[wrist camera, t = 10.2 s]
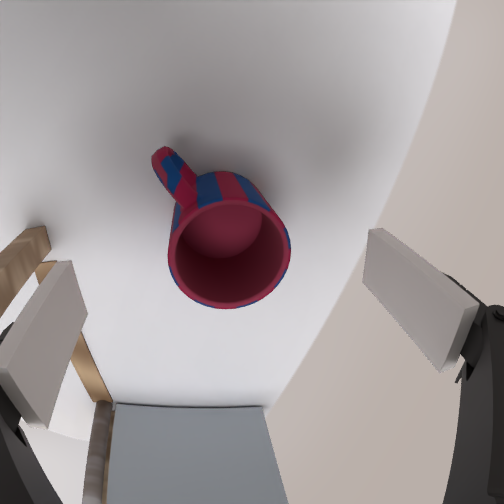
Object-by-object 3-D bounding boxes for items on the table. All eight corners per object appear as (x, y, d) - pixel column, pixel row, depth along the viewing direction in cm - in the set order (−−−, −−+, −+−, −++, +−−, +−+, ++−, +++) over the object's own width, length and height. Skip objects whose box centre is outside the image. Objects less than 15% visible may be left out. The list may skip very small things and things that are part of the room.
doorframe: (23, 229, 21) (-87, 353, 7) (47, 225, 21) (-62, 357, 8) (111, 431, 32) (104, 539, 19) (129, 431, 32) (126, 542, 19)
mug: (202, 272, 25) (208, 326, 19) (132, 162, 21) (108, 184, 14) (279, 231, 25) (308, 275, 19) (217, 112, 20) (228, 114, 14)
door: (119, 417, 31) (112, 516, 19) (116, 403, 30) (106, 508, 18) (258, 419, 34) (282, 514, 23) (261, 406, 33) (289, 505, 22)
